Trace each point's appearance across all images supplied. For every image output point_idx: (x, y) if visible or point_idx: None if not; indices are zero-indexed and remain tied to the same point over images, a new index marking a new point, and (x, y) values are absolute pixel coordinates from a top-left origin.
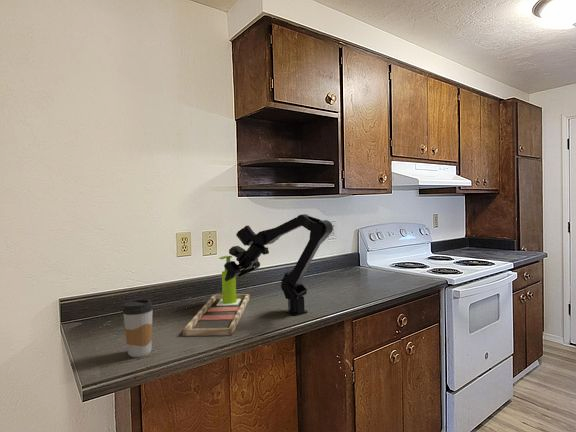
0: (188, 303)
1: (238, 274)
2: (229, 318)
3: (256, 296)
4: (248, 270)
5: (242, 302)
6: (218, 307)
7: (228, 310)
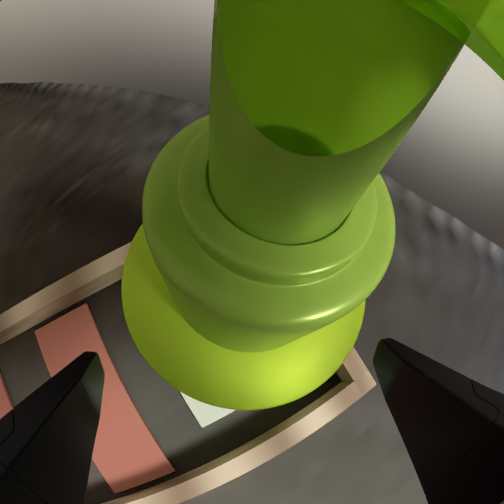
0: (130, 150)
1: (387, 347)
2: None
3: None
4: (445, 497)
5: (185, 482)
6: (103, 349)
7: None
